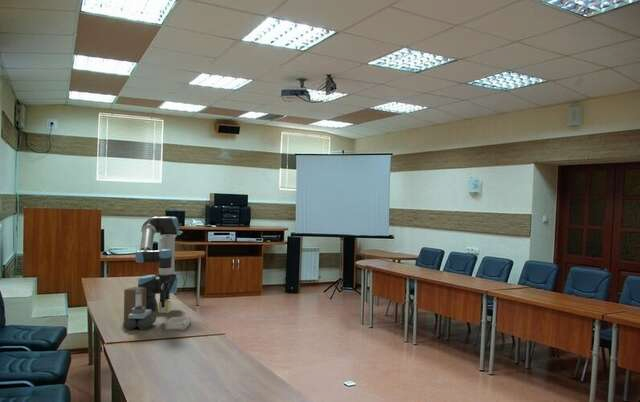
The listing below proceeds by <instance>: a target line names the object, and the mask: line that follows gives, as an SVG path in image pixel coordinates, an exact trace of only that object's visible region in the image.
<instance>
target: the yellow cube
mask: <svg viewBox="0 0 640 402" xmlns="http://www.w3.org/2000/svg"><path fill="white" fill-rule="evenodd" d="M165 302H166V312H161V302H160V301H159V302H158V313H162V314H164V313H165V314H169V313H170V312H171V309H172V308H171V307H172V306H171V305H172V301H171V300H168V301H165Z"/></svg>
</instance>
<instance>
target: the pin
mask: <svg viewBox="0 0 640 402" xmlns="http://www.w3.org/2000/svg"><path fill="white" fill-rule="evenodd" d="M135 309H142V290H136V304H135Z"/></svg>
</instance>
